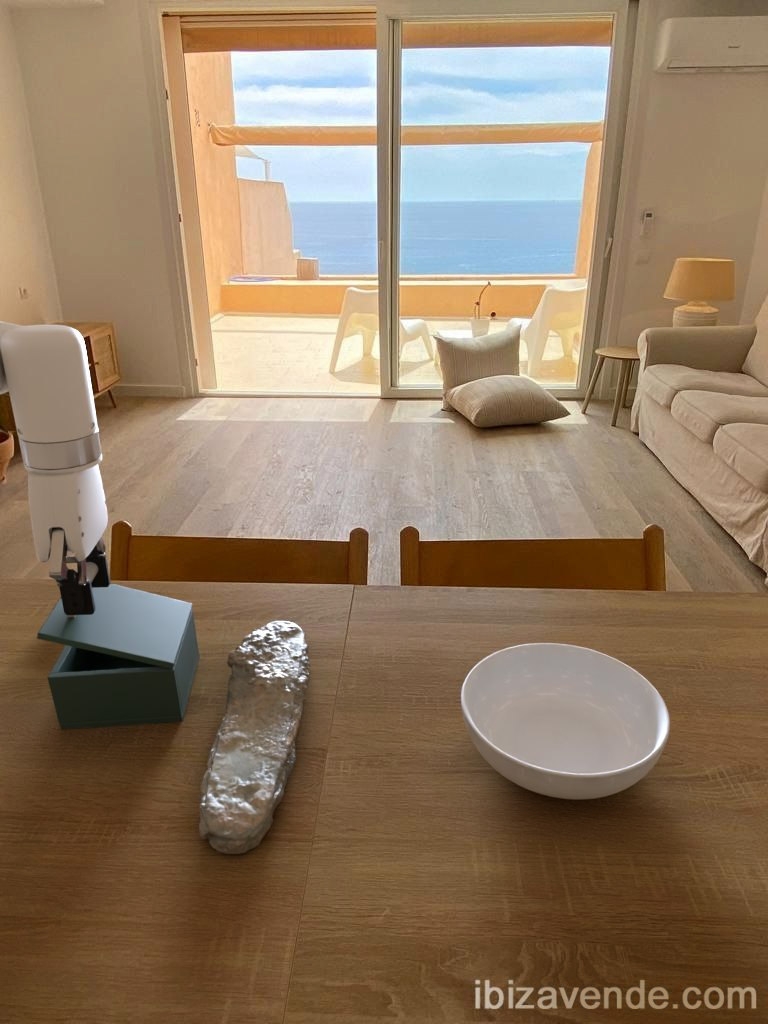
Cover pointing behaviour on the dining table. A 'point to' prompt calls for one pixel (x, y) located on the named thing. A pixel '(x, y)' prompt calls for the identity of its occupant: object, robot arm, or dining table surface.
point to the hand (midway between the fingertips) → (88, 598)
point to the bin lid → (122, 624)
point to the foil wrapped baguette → (255, 737)
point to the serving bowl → (564, 719)
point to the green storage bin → (122, 687)
